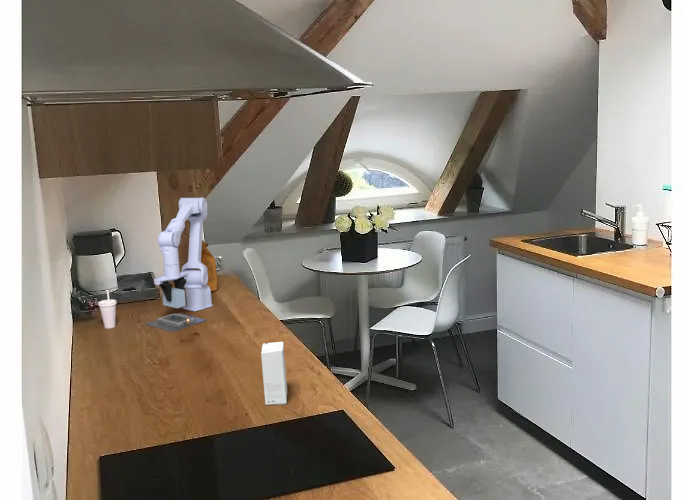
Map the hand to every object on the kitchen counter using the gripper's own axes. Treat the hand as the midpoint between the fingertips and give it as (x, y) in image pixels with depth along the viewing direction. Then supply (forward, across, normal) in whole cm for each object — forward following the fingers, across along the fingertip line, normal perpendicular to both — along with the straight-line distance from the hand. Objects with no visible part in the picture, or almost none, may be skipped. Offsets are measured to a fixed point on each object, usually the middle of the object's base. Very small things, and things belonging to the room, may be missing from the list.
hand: (174, 299), depth 257 cm
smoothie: (+9, +17, -17) cm, 26 cm away
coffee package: (+9, -38, -28) cm, 48 cm away
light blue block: (+2, 0, 0) cm, 2 cm away
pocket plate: (+9, 0, 0) cm, 9 cm away
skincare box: (+9, +29, +80) cm, 86 cm away
